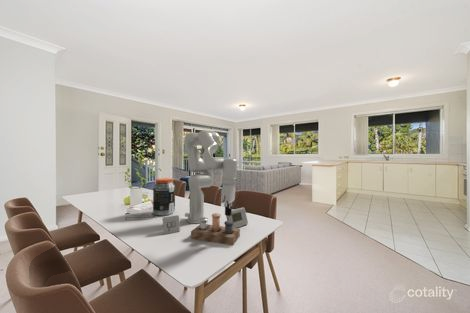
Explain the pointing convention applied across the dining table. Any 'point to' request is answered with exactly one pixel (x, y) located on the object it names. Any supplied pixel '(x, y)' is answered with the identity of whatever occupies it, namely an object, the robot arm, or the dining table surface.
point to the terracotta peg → (216, 222)
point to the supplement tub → (164, 197)
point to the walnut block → (215, 235)
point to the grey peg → (203, 223)
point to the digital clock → (238, 217)
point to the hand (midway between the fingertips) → (228, 215)
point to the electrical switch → (171, 224)
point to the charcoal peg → (228, 227)
